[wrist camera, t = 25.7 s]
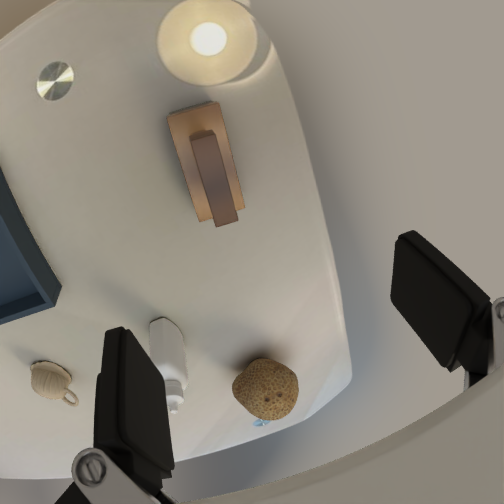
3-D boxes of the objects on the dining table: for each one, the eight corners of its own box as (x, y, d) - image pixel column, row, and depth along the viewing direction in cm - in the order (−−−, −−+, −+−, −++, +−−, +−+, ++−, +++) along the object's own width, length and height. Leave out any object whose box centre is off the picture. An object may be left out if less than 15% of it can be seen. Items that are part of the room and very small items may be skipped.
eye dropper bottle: (151, 347, 40) (155, 424, 30) (149, 316, 37) (150, 397, 27) (183, 346, 41) (194, 423, 31) (184, 315, 38) (195, 396, 28)
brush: (166, 113, 26) (165, 126, 19) (213, 99, 26) (229, 108, 20) (196, 208, 32) (205, 249, 25) (238, 195, 32) (258, 232, 25)
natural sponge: (298, 357, 48) (321, 407, 40) (256, 386, 50) (273, 436, 42) (262, 334, 43) (284, 392, 35) (217, 368, 45) (231, 425, 37)
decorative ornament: (31, 355, 36) (23, 383, 32) (82, 371, 40) (79, 401, 35) (31, 370, 37) (24, 397, 33) (79, 385, 41) (76, 414, 37)
